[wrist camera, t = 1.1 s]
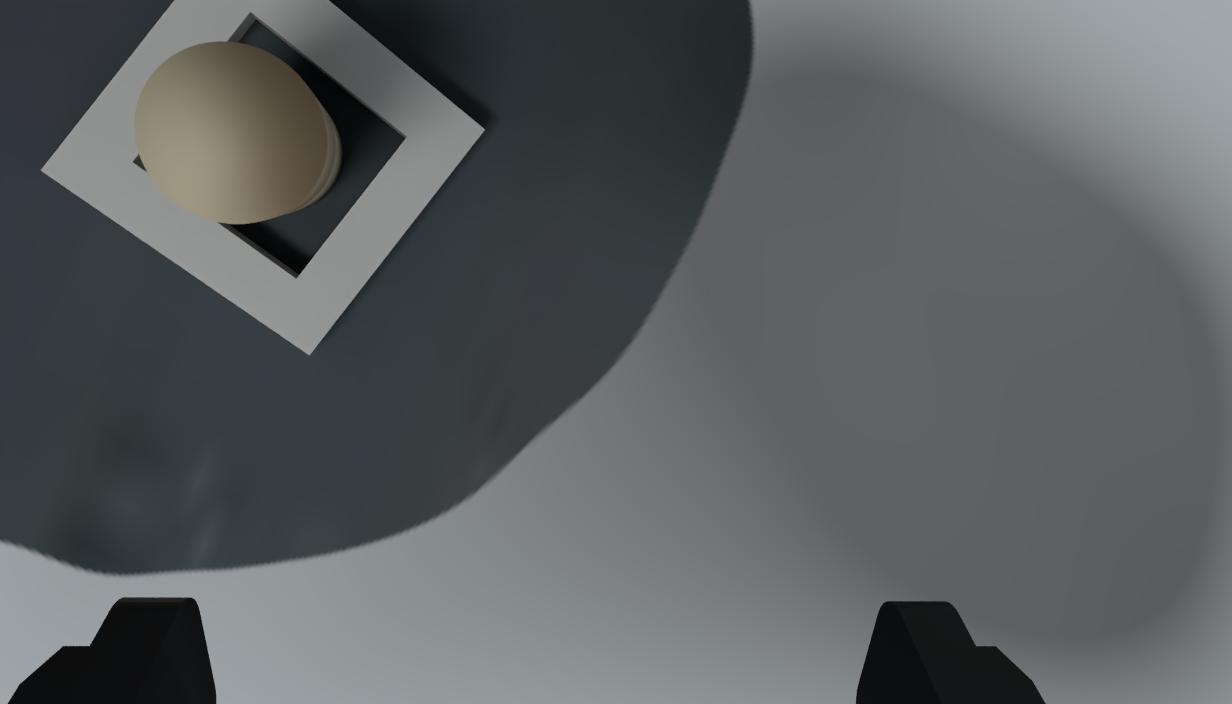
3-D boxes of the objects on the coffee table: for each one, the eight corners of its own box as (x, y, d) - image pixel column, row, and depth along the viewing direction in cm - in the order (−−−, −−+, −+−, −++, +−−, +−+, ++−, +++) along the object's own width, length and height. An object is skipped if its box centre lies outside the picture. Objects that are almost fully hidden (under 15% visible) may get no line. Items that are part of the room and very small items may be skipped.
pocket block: (312, 348, 35) (309, 355, 34) (55, 171, 32) (40, 170, 31) (480, 132, 35) (485, 129, 34) (241, -66, 32) (235, -78, 31)
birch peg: (231, 223, 34) (164, 240, 23) (197, 98, 33) (110, 57, 22) (355, 199, 35) (344, 205, 24) (325, 77, 34) (300, 28, 23)
